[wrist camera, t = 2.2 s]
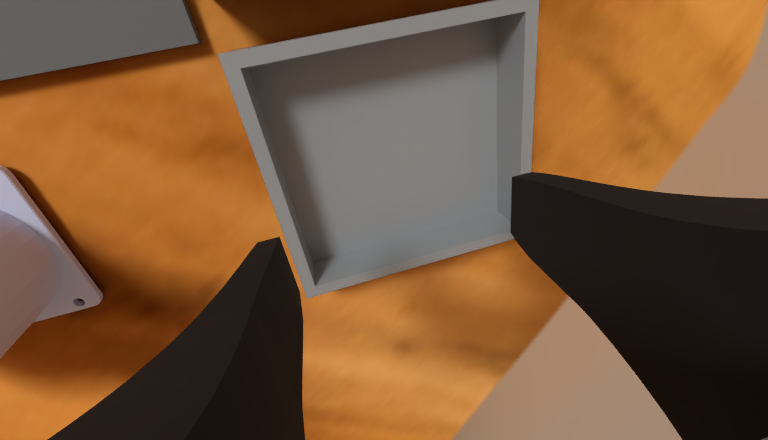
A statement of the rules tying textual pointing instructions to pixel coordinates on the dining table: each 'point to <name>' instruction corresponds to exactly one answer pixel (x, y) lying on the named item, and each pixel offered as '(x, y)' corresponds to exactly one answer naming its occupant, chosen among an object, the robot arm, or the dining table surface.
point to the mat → (87, 32)
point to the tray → (392, 136)
